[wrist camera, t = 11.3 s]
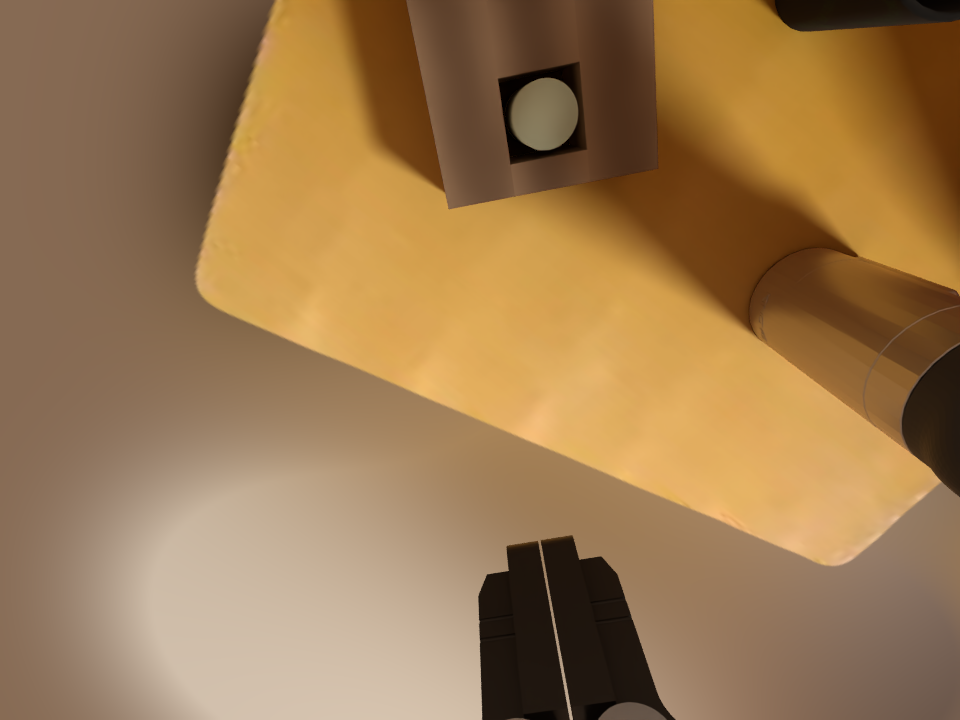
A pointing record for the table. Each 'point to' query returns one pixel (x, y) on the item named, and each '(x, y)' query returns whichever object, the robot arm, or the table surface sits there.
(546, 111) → the peg sage
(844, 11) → the cup
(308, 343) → the table surface
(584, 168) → the socket block
